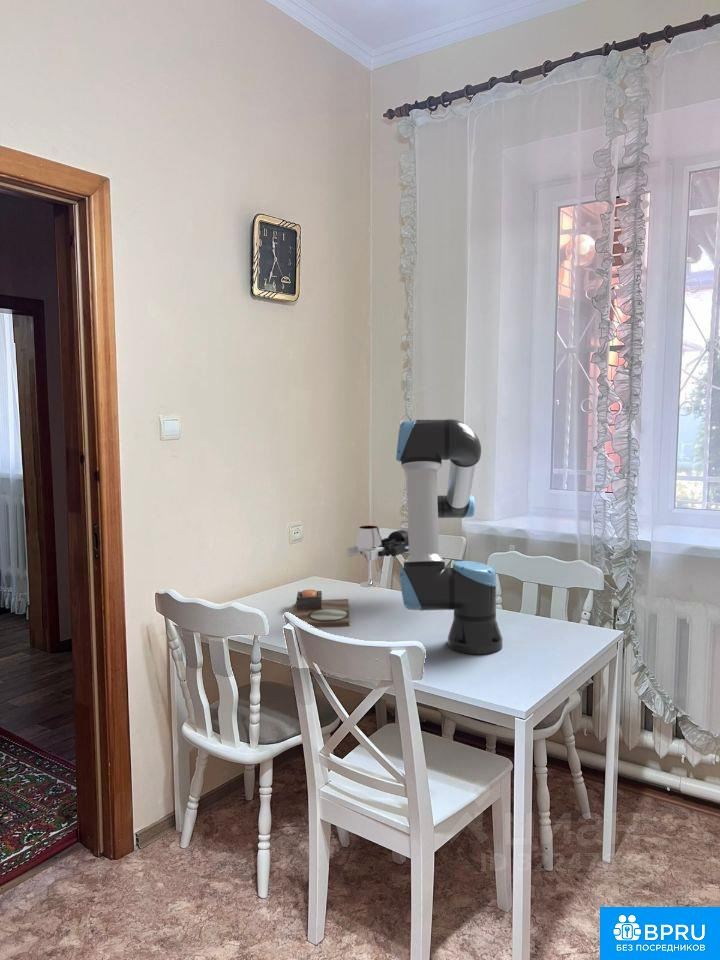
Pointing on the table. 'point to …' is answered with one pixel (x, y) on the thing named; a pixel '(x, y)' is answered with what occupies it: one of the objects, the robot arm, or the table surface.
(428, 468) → the robot arm
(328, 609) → the board
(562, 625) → the table surface
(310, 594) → the button
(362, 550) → the wineglass
